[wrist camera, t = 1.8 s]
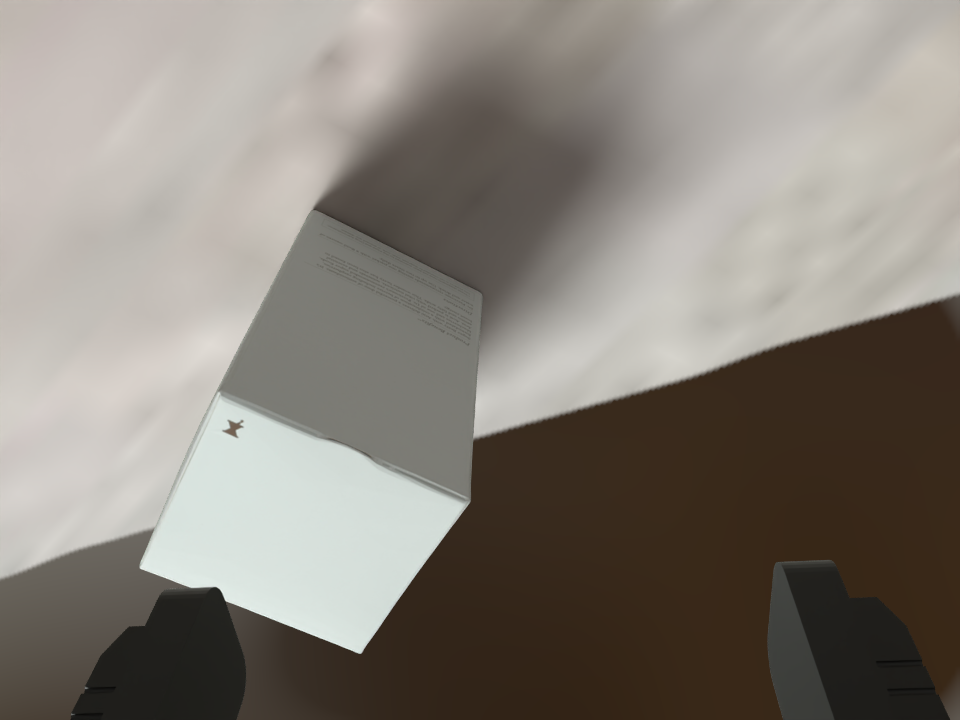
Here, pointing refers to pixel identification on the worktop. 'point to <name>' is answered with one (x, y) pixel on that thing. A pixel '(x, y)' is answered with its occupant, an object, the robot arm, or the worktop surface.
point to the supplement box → (331, 440)
